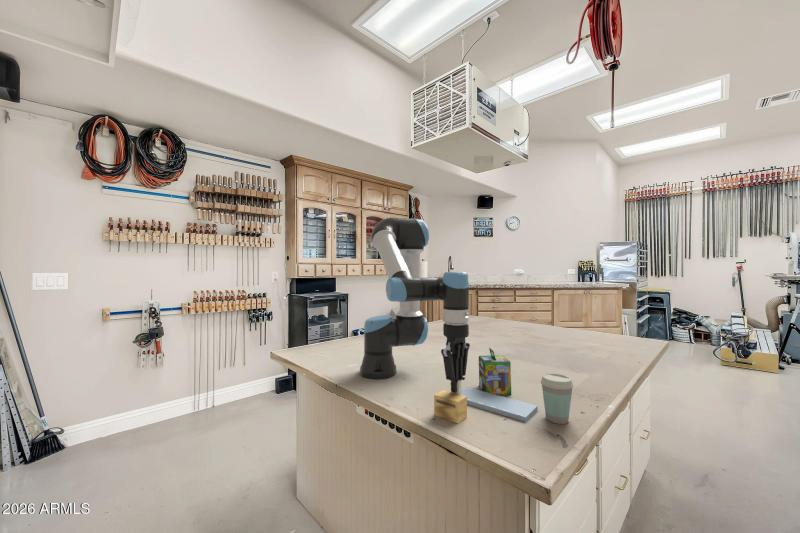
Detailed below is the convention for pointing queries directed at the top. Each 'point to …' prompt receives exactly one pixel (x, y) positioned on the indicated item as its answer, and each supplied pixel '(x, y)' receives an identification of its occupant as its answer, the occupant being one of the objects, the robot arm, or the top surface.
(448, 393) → the tan rectangular block
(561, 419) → the coffee cup
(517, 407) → the board
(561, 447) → the top surface
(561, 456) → the top surface
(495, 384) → the chalk box
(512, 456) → the top surface
